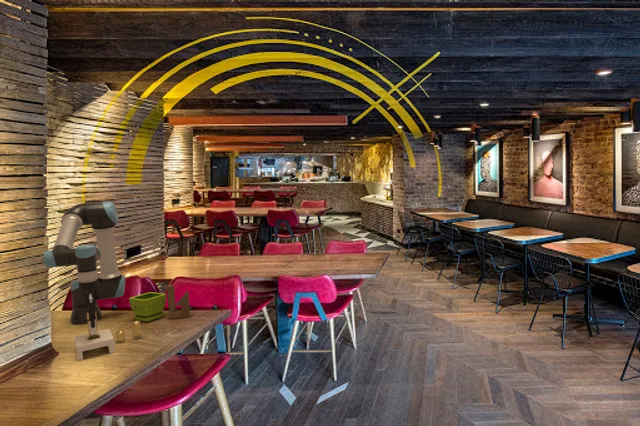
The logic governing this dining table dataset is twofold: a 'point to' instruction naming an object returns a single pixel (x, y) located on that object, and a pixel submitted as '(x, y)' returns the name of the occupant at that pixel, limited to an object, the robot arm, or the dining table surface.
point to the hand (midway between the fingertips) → (93, 333)
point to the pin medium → (136, 329)
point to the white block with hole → (94, 342)
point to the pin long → (89, 329)
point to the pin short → (120, 336)
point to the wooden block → (177, 304)
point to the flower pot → (145, 311)
